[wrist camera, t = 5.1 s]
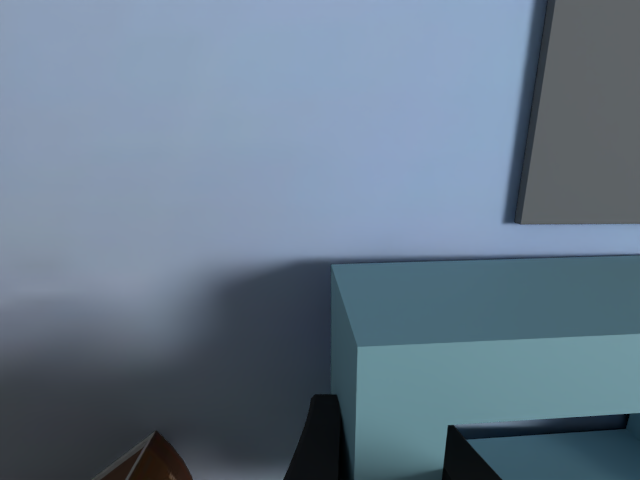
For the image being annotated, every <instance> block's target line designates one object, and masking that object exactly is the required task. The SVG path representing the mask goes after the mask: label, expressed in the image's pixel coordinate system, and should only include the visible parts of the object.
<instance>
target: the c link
mask: <svg viewBox="0 0 640 480" xmlns="http://www.w3.org/2000/svg"><path fill="white" fill-rule="evenodd" d="M331 394H337V397H338V400H339V406H340V480H442V472H443V464H444V455H445V446H446V437H447V428H448V425H458V424H474V423H490V422H505V421H521V420H537V419H552V418H568V417H584V416H600V415H615V414H630V417H629V420H628V424H627V427H626V429H619V430H604V431H589V432H574V433H559V434H544V435H529V436H515V437H500V438H485V439H470V440H467V442H468V443H469V444H470V445H471V446H472V447H473V448H474V449H475V450H476V452H477V453H478V454H479V455H480V456H481V457H482V458H483V459H484V460H485V461H486V462H487V464H488V465H489V466H490V467H491V468H492V469H493V470H494V471H495V472H496V473H497V474H498V475H499V477H500V478H501V479H502V480H640V255H636V256H602V257H567V258H533V259H498V260H464V261H429V262H395V263H360V264H331Z"/></svg>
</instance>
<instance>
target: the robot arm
mask: <svg viewBox="0 0 640 480" xmlns="http://www.w3.org/2000/svg"><path fill="white" fill-rule="evenodd" d="M283 480H340V406H339V400H338V397H337V394H315V395H314V396H313V397H312V398H311V402H310V408H309V412H308V416H307V419H306V422H305V426H304V428H303V431H302V434H301V437H300V440H299V443H298V445H297V448H296V450H295V453H294V455H293V458H292V460H291V463H290V465H289V468H288V470H287V473H286V475H285V477H284V479H283ZM442 480H502V479H501V478H500V477H499V475H498V474H497V473H496V472H495V471H494V470H493V469H492V468H491V467H490V466H489V465H488V464H487V462H486V461H485V460H484V459H483V458H482V457H481V456H480V455H479V454H478V453H477V452H476V450H475V449H474V448H473V447H472V446H471V445H470V444H469V443H468V442H467V440H466V439H465V438H464V437H463V436H462V435H461V434H460V432H459V431H458V430H457V429H456V428H455V427H454V425H448V428H447V437H446V446H445V455H444V464H443V472H442Z"/></svg>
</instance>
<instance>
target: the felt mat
mask: <svg viewBox="0 0 640 480" xmlns="http://www.w3.org/2000/svg"><path fill="white" fill-rule="evenodd" d="M515 222H516V223H519V224H640V0H548V4H547V10H546V17H545V24H544V30H543V37H542V44H541V50H540V57H539V64H538V70H537V77H536V84H535V90H534V97H533V104H532V110H531V117H530V123H529V130H528V137H527V143H526V150H525V157H524V163H523V170H522V177H521V183H520V190H519V197H518V203H517V210H516V217H515Z"/></svg>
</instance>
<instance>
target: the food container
mask: <svg viewBox="0 0 640 480" xmlns="http://www.w3.org/2000/svg"><path fill="white" fill-rule="evenodd" d="M91 480H193V479H192V476H191V474H190V472H189V470H188V468H187V466H186V465H185V463H184V461H183V459H182V458H181V457H180V456H179V454H178V453H177V452H176V450H175V449H174V448H173V446H172V445H171V444H170V443H169V442H168V441H167V440H166V439H165V438H164V437H163V436H161V435H160V434H159V433H158V432H157V431H154V432H153V433H152V434H150V435H149V436H148V437H147V438H145V439H144V440H143V441H141V442H140V443H139V444H137V445H136V446H135V447H133V448H132V449H131V450H129V451H128V452H127V453H125V454H124V455H123V456H121V457H120V458H119V459H117V460H116V461H115V462H114V463H112V464H111V465H110V466H108V467H107V468H106V469H104V470H103V471H102V472H100V473H99V474H98V475H96V476H95V477H94V478H92V479H91Z"/></svg>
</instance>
